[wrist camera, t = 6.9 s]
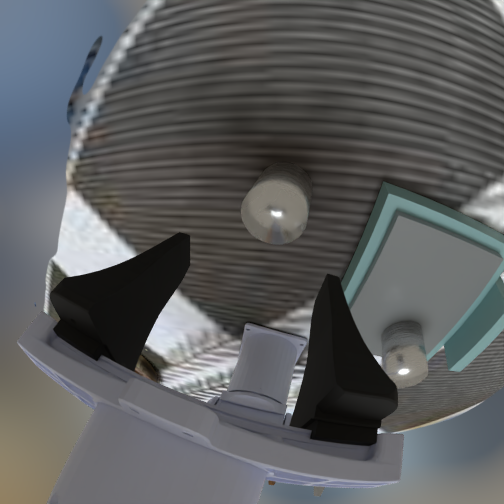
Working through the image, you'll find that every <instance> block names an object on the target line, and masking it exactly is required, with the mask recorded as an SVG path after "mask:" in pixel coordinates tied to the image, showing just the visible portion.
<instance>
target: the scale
mask: <svg viewBox="0 0 504 504" xmlns="http://www.w3.org/2000/svg"><path fill="white" fill-rule="evenodd" d="M396 210H397V211H400V212H403V213H405V214H408V215H411V216H414V217H416V218H419V219H421V220H424V221H427V222H429V223H432V224H434V225H437V226H439V227H442V228H444V229H446V230H449V231H451V232H454V233H456V234H458V235H461V236H463V237H465V238H467V239H470V240H472V241H474V242H476V243H478V244H481V245H483V246H485V247H487V248H489V249H491V250H493V251H495V252H497V253H499V254H501V256H502V257H503V259H504V235H503V234H501V233H499V232H497V231H495V230H494V229H492V228H490V227H488V226H486V225H484V224H482V223H480V222H478V221H476V220H474V219H472V218H470V217H468V216H466V215H464V214H462V213H460V212H458V211H455V210H453V209H451V208H449V207H447V206H444V205H442V204H440V203H437V202H435V201H433V200H430V199H428V198H426V197H423V196H421V195H418V194H416V193H413V192H411V191H408V190H406V189H403V188H400V187H398V186H395V185H392V184H389V183H387V182H384V181H383V184H382V187H381V189H380V192H379V195H378V197H377V200H376V203H375V205H374V208H373V211H372V213H371V216H370V218H369V221H368V223H367V226H366V228H365V230H364V233H363V235H362V238H361V240H360V242H359V245H358V247H357V249H356V251H355V254H354V256H353V258H352V260H351V263H350V265H349V267H348V269H347V271H346V273H345V276H344V278H343V280H342V282H341V285H342V288H343V292H344V295H345V298H346V301H347V303H348V306H349V305H350V303H351V302H352V300H353V298H354V296H355V294H356V293H357V291H358V289H359V287H360V285H361V283H362V281H363V280H364V278H365V276H366V274H367V272H368V270H369V268H370V266H371V264H372V262H373V260H374V258H375V256H376V254H377V252H378V250H379V248H380V246H381V244H382V241H383V239H384V237H385V235H386V233H387V231H388V228H389V226H390V224H391V222H392V219H393V217H394V215H395V212H396ZM503 270H504V260H503V261H502V263H501V264H500V266H499V268H498V269H497V271H496V272H495V274H494V275H493V277H492V278H491V280H490V281H489V282H488V284H487V285H486V287H485V288H484V289H483V291H482V292H481V294H480V295H479V296H478V298H477V299H476V300H475V301H474V303H473V304H472V305H471V307H470V308H469V309H468V310H467V312H466V313H465V314H464V315H463V316H462V318H461V319H460V320H459V321H458V322H457V324H456V325H455V326H454V327H453V328H452V329H451V330H450V332H449V333H448V334H447V335H446V336H445V337H444V338H443V339H442V340H441V341H440V342H439V343H438V344H437V346H436V347H435V348H434V349H433V350H432V351H431V352H430V353H429V354H428V355H427V356H426V357H427V361H428V360H429V359H430V358H431V357H432V356H433V355H434V354H435V353H436V352H437V351H438V350H439V349H440V348H441V347H442V346H443V345H444V348H445V353H446V358H447V364H448V370H450V371H458V372H460V371H461V370H462V369H464V368H465V367H466V366H467V365H468V364H469V363H470V362H471V361H472V360H474V359H475V358H476V357H477V356H478V355H479V354H480V353H481V352H482V351H483V350H484V349H485V348H486V347H487V346H488V345H489V344H490V343H491V342H492V341H493V340H494V339H495V338H496V337H497V336H498V335H499V333H500V332H501V331H502V330H503V329H504V283H503V281H502V279H501V277H500V275H501V273H502V272H503Z"/></svg>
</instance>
